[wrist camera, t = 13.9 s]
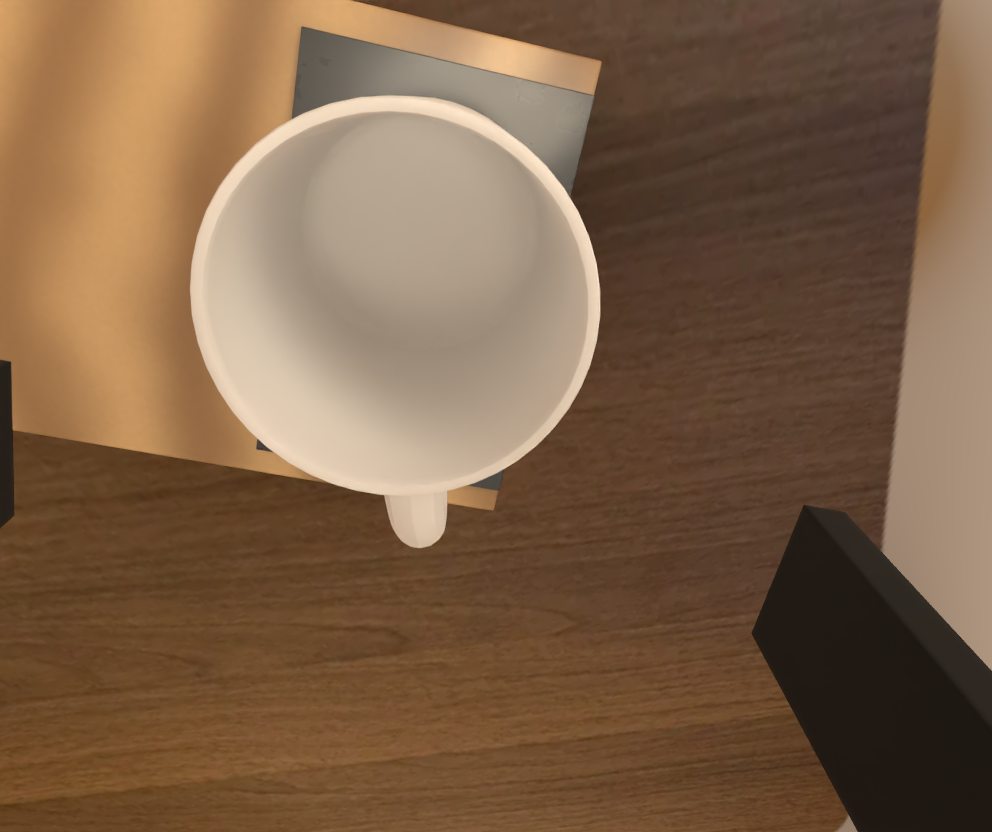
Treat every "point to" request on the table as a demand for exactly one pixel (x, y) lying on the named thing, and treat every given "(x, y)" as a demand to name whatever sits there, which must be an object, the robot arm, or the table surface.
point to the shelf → (197, 184)
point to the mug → (395, 299)
